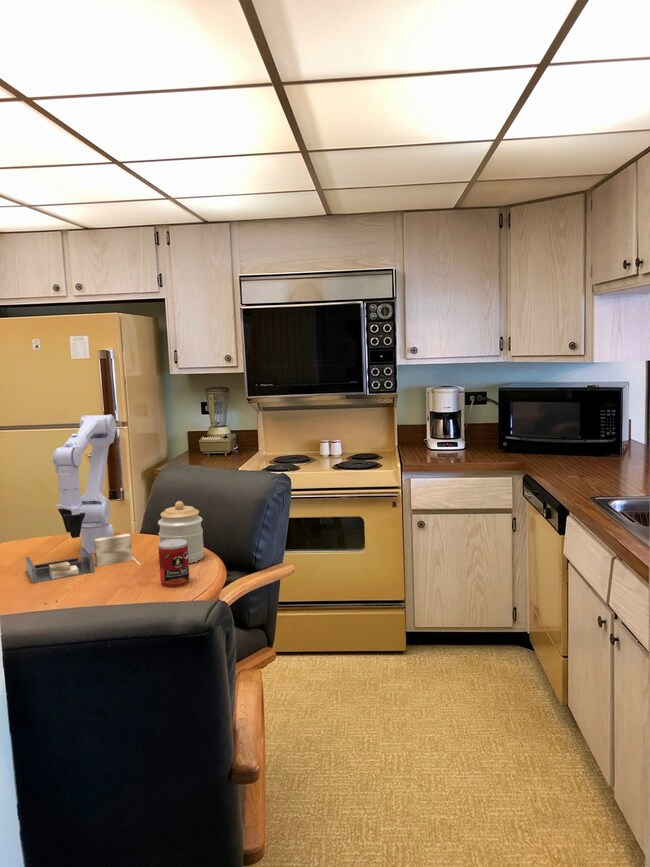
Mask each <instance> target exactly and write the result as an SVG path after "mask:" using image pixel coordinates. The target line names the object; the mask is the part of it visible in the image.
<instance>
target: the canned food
mask: <svg viewBox="0 0 650 867" xmlns="http://www.w3.org/2000/svg"><path fill="white" fill-rule="evenodd" d="M158 558H159V559H158V561H159V575H160V577H159V578H160V584H161V585H162V586H163V587H166V588H178V587H182V586H185V585H187V584H188V583H189V582H188V581H190V564H189V559H188V544H187V541H186V540H183V539H169V540H165V541H162V542H160V541H159V543H158ZM186 583H187V584H186ZM184 584H185V585H184ZM181 585H182V586H181ZM177 586H178V587H177Z"/></svg>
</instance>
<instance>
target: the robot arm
mask: <svg viewBox="0 0 650 867" xmlns="http://www.w3.org/2000/svg"><path fill="white" fill-rule="evenodd" d="M116 430H117V424H116V419H115V417H114V416H113V414H110V413H109V414H99V415H98V414H96V415H95V414H94V415H93V414H92V415H86V414H83V415H82V416H81V417H80V420H79V429H78V431H77V433H72V434H71V436H69V438H68V439H67V440H66V441H65V442H64V444H63V445H62V446H61V447H57V448H56V449H54V450H53V452H52V463H53V467H54V470H55V471H54V472H55V474H57V481H58V494H59V497H58V498H59V504H55V508H56V509H57V511H58V513H59V514H60V516H61V518H62V521H63V525H64V528H65V531H66V533H70V536H71V539H76V538H80V537H81V538H80V539H81V541H80V542H81V548H84V549H85V550H86V551H87V552H88V553H89V554H95V548H94V539H98V538H104V537H110V536H115V535H114V534H115V533H114V528H113V525H112V523H111V522H109V520H110V517H111V502H110V500H109V499H108V498H107V497H106V496H105V495H103V490H104V483H105V476H106V468H107V462H108V455H109V447H110V445H111V444H113V443H114V440H115V436H116ZM88 446H91V455H90V461H89V462H90V463H89V469H88V475H87V481H86V489H85V493H83V495H81V485H80V483H81V482H80V470H79V466H81V463H82V458H83V456H84V455H83V453H85V451H86V449H87V448H88Z"/></svg>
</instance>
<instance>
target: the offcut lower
mask: <svg viewBox="0 0 650 867" xmlns="http://www.w3.org/2000/svg"><path fill="white" fill-rule="evenodd" d="M70 569H71V570H67V571H62V572H56V573H51V572H50V570H49V573H50V576H51V578H52V579H54V578H60V577H65V576H71V575H76V574H79V571H78V568H77V566H76V565H74V566H70Z"/></svg>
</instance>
